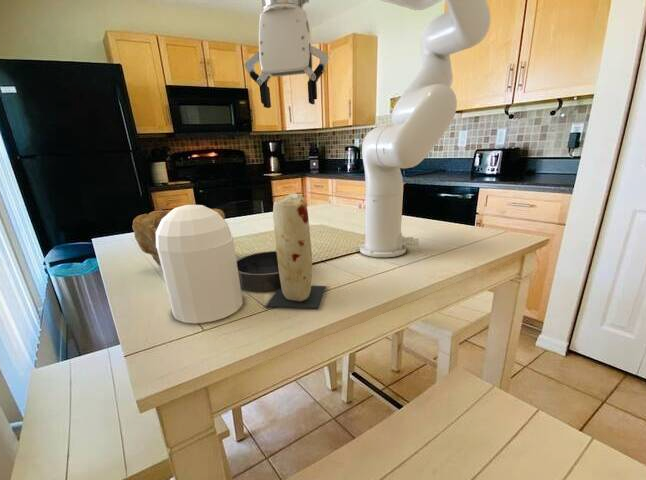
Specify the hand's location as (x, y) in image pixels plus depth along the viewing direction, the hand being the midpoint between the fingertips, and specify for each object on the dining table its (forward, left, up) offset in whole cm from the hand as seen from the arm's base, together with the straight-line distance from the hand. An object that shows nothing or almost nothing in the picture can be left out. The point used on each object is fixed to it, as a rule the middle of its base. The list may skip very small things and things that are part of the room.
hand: (289, 105), depth 70 cm
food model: (-3, +17, -36) cm, 40 cm away
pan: (+6, +7, -36) cm, 37 cm away
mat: (-3, +17, -36) cm, 40 cm away
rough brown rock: (+30, +2, -36) cm, 47 cm away
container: (+14, +22, -36) cm, 45 cm away
